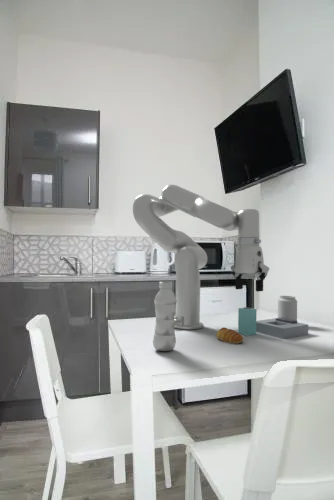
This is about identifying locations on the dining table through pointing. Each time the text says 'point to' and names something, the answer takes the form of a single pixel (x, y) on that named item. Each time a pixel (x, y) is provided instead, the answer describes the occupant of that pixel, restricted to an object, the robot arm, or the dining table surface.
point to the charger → (247, 321)
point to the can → (287, 307)
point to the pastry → (229, 336)
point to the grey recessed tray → (281, 327)
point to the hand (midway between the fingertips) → (248, 290)
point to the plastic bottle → (165, 317)
